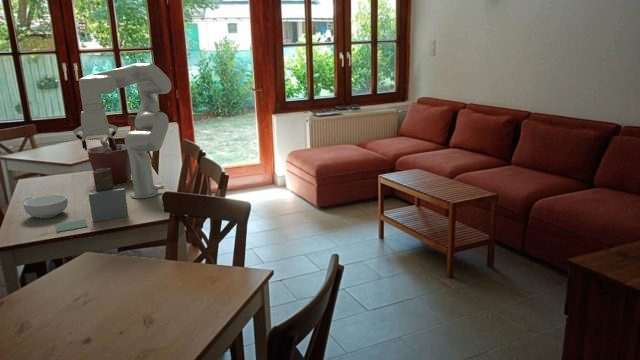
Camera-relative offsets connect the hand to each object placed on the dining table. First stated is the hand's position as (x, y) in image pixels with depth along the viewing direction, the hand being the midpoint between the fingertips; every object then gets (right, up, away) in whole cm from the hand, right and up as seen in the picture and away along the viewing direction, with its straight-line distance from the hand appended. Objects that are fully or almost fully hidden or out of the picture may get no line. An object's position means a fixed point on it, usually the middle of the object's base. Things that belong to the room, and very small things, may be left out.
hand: (98, 148), depth 210 cm
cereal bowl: (-25, -29, +7) cm, 39 cm away
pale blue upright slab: (+5, -30, +1) cm, 30 cm away
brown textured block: (+1, -28, +8) cm, 29 cm away
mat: (-8, -32, -7) cm, 34 cm away
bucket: (-19, -15, +59) cm, 64 cm away
